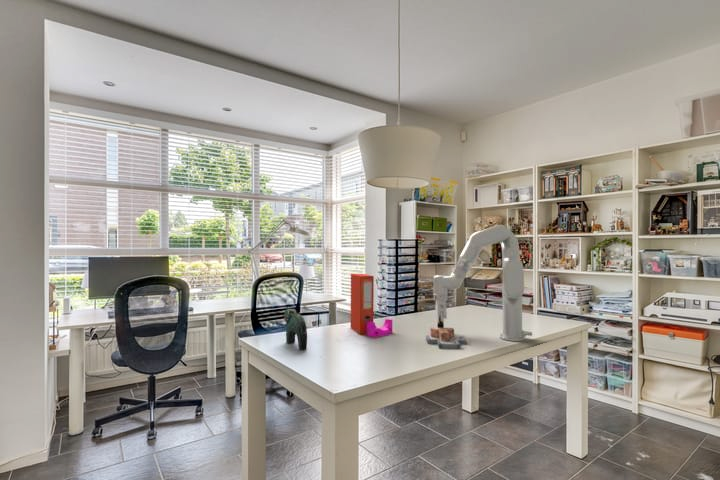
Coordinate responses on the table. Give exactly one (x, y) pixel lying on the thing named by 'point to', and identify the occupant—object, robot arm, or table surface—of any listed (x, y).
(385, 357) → the table surface
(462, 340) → the T outline
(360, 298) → the file binder
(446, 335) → the T block
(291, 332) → the dark green animal figurine
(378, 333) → the toy block
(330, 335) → the table surface
